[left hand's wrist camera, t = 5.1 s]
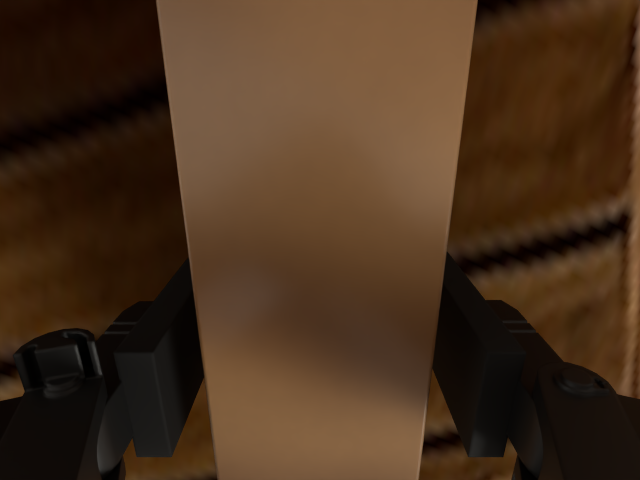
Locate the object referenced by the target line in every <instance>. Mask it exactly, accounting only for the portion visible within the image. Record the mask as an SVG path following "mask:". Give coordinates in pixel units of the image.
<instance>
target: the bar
mask: <svg viewBox="0 0 640 480" xmlns="http://www.w3.org/2000/svg"><path fill="white" fill-rule="evenodd" d="M477 1H478V0H156V6H157V14H158V21H159V29H160V37H161V45H162V52H163V60H164V68H165V76H166V83H167V91H168V99H169V107H170V114H171V122H172V130H173V138H174V146H175V153H176V161H177V169H178V177H179V184H180V192H181V200H182V208H183V215H184V223H185V231H186V239H187V247H188V254H189V262H190V270H191V278H192V285H193V293H194V301H195V309H196V316H197V324H198V332H199V340H200V347H201V355H202V363H203V371H204V379H205V386H206V394H207V402H208V410H209V417H210V425H211V433H212V441H213V448H214V456H215V464H216V472H217V480H418V479H419V471H420V463H421V455H422V447H423V439H424V431H425V423H426V414H427V406H428V398H429V390H430V382H431V374H432V366H433V358H434V350H435V342H436V333H437V325H438V317H439V309H440V301H441V293H442V285H443V277H444V269H445V261H446V252H447V244H448V236H449V228H450V220H451V212H452V204H453V196H454V188H455V180H456V171H457V163H458V155H459V147H460V139H461V131H462V123H463V115H464V107H465V98H466V90H467V82H468V74H469V66H470V58H471V50H472V42H473V34H474V26H475V17H476V9H477Z"/></svg>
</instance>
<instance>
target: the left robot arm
mask: <svg viewBox="0 0 640 480" xmlns="http://www.w3.org/2000/svg"><path fill="white" fill-rule="evenodd" d="M13 357H14V360H15V363H16V366H17V369H18V372H19V375H20V378H21V381H22V384H23V387H24V390H25V392H24V394H23V396H21V397H18V398H13V399H8V400H3V401H0V480H125V475H126V470H125V463H124V459H123V454H124V452H125V450H126V448H127V447H128V445H129V443H130V441H131V439H132V438H133V442H134V447H135V451H136V456H137V457H172V455H173V452H174V450H175V447H176V445H177V442H178V440H179V437H180V435H181V432H182V430H183V428H184V425H185V423H186V420H187V418H188V415H189V413H190V410H191V408H192V405H193V403H194V400H195V398H196V395H197V393H198V390H199V388H200V385H201V383H202V381H203V378H204V371H203V363H202V355H201V347H200V340H199V332H198V324H197V316H196V309H195V301H194V293H193V285H192V278H191V270H190V262H189V257H188V258H187V260H186V261H185V262H184V264H183V265H182V266H181V267H180V269H179V270H178V271H177V272H176V274H175V275H174V276H173V277H172V279H171V280H170V281H169V283H168V284H167V285H166V286H165V288H164V289H163V290H162V291H161V293H160V294H159V295H158V297H157V298H156V299H155V300H154V301H139V302H137V303H136V304H134V305H132V306H131V307H129V308H128V309H126V310H124V311H123V312H122V313H121V314H120V315H119V316H118V318H117V319H116V320H115V321H114V322H113V325H110V326H109V328H108V329H107V330H106V331H105V334H102V335H101V337H100V338H99V339H98V340H97V341H96V342H95V338H94V334H92V333H91V332H90V331H88V330H85V329H79V328H73V329H62V330H58V331H54V332H50V333H47V334H44V335H42V336H39V337H37V338H34V339H33V340H31V341H29V342H28V343H26V344H25V345H23V346H21V347H20V348H19V349H18V350H17V351H16V353H15V354H14V355H13ZM432 368H433V371H434V373H435V376H436V378H437V381H438V383H439V385H440V388H441V390H442V393H443V395H444V398H445V400H446V403H447V405H448V408H449V410H450V413H451V415H452V418H453V420H454V423H455V425H456V428H457V430H458V432H459V435H460V437H461V440H462V442H463V445H464V447H465V450H466V452H467V455H468V457H503V456H504V451H505V447H506V442H507V438H508V437H509V439H510V441H511V443H512V444H513V446H514V448H515V450H516V452H517V459H516V463H515V467H514V471H513V475H512V479H511V480H640V399H636V398H631V397H626V396H622V395H618V394H616V392H615V390H614V389H613V388H612V386H611V385H610V384H609V383H608V382H607V381H606V380H605V379H603V378H602V377H601V376H599V375H598V374H597V373H595V372H593V371H590V370H588V369H586V368H584V367H582V366H578V365H575V364H571V363H568V362H563V360H562V359H561V358H560V357H559V356H558V355H557V354H556V353H555V351H554V350H553V349H552V348H551V347H550V346H549V345H548V344H547V343H546V341H545V340H544V339H543V338H542V337H541V336H540V335H539V334H538V333H536V330H535V329H534V328H533V327H532V326H531V325H530V324H529V323H527V320H526V319H525V318H524V317H523V316H522V315H521V314H520V312H519V311H518V310H517V309H515V308H513V307H512V306H510V305H508V304H507V303H505V302H503V301H502V300H485V299H484V298H483V297H482V295H481V294H480V293H479V291H478V290H477V289H476V288H475V286H474V285H473V284H472V283H471V281H470V280H469V279H468V278H467V276H466V275H465V274H464V272H463V271H462V270H461V269H460V267H459V266H458V265H457V264H456V262H455V261H454V260H453V258H452V257H451V256H450V255H449V253H448V252H446V261H445V269H444V277H443V285H442V293H441V301H440V309H439V317H438V325H437V333H436V342H435V350H434V358H433V366H432Z"/></svg>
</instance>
